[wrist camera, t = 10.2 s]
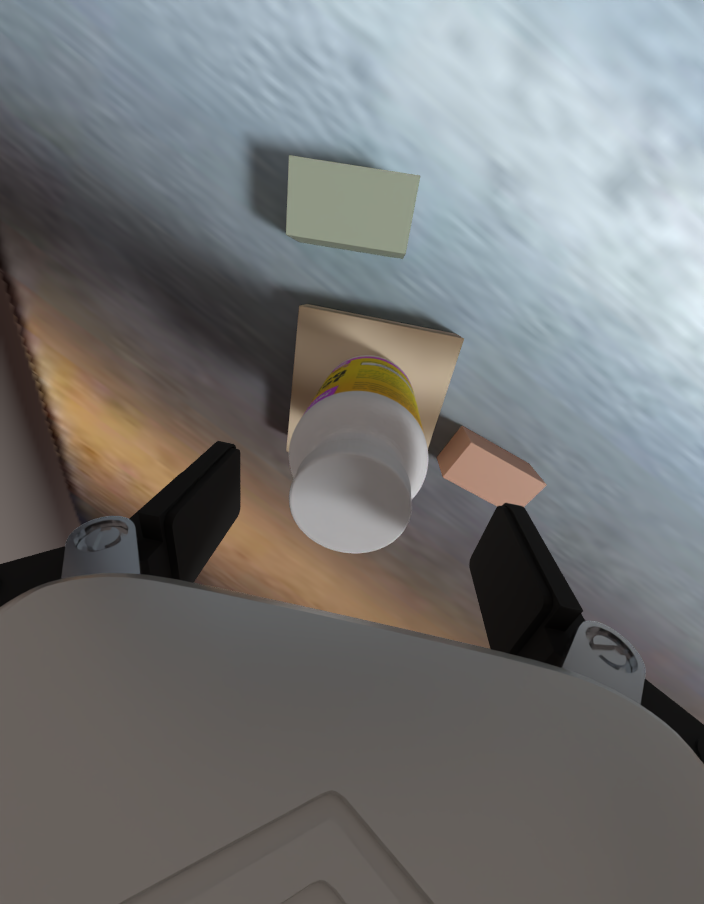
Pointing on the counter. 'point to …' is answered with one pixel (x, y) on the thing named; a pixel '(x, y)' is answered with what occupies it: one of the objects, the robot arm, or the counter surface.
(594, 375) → the counter surface
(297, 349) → the maple slab
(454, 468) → the terracotta brick
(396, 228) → the sage brick
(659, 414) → the counter surface
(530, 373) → the counter surface
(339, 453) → the supplement bottle
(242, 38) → the counter surface
